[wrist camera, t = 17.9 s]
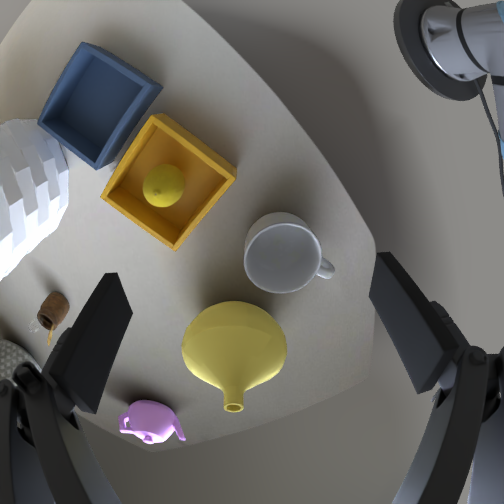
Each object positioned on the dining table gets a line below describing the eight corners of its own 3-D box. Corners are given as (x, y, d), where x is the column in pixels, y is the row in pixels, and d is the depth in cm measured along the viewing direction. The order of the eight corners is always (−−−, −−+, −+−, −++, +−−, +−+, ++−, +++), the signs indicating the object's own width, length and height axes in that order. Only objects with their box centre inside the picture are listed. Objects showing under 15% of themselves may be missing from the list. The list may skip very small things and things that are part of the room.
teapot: (129, 415, 76) (123, 444, 65) (114, 392, 68) (105, 425, 57) (192, 423, 76) (189, 454, 66) (184, 401, 69) (179, 437, 58)
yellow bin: (237, 169, 39) (236, 178, 34) (182, 234, 44) (175, 252, 39) (163, 112, 34) (151, 114, 29) (115, 185, 39) (99, 197, 34)
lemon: (165, 152, 36) (147, 163, 29) (197, 172, 38) (186, 188, 31) (146, 182, 38) (127, 201, 32) (177, 202, 40) (164, 224, 33)
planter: (43, 351, 60) (20, 398, 44) (50, 380, 68) (33, 421, 52) (-1, 323, 55) (-28, 364, 39) (9, 356, 63) (-11, 393, 48)
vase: (207, 357, 58) (200, 433, 42) (172, 295, 50) (149, 381, 33) (289, 342, 57) (302, 421, 40) (270, 273, 48) (283, 363, 31)
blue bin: (163, 87, 32) (151, 84, 27) (113, 161, 37) (96, 170, 32) (100, 46, 27) (81, 41, 23) (56, 119, 32) (36, 123, 27)
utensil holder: (48, 287, 48) (21, 323, 38) (70, 296, 49) (45, 334, 39) (51, 306, 51) (27, 341, 41) (72, 315, 52) (50, 353, 42)
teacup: (230, 245, 45) (228, 273, 38) (268, 189, 40) (274, 209, 33) (299, 281, 49) (307, 311, 42) (338, 235, 44) (354, 260, 38)
